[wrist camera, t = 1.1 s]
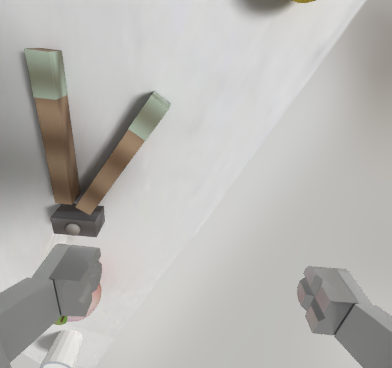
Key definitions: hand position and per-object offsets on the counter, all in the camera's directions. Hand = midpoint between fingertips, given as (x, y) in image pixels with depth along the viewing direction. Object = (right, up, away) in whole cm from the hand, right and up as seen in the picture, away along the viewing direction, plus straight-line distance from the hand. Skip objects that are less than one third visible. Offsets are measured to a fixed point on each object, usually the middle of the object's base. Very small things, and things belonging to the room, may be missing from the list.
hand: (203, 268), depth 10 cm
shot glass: (-30, -33, +49) cm, 66 cm away
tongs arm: (-11, +8, +26) cm, 29 cm away
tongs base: (-17, +8, +26) cm, 32 cm away
